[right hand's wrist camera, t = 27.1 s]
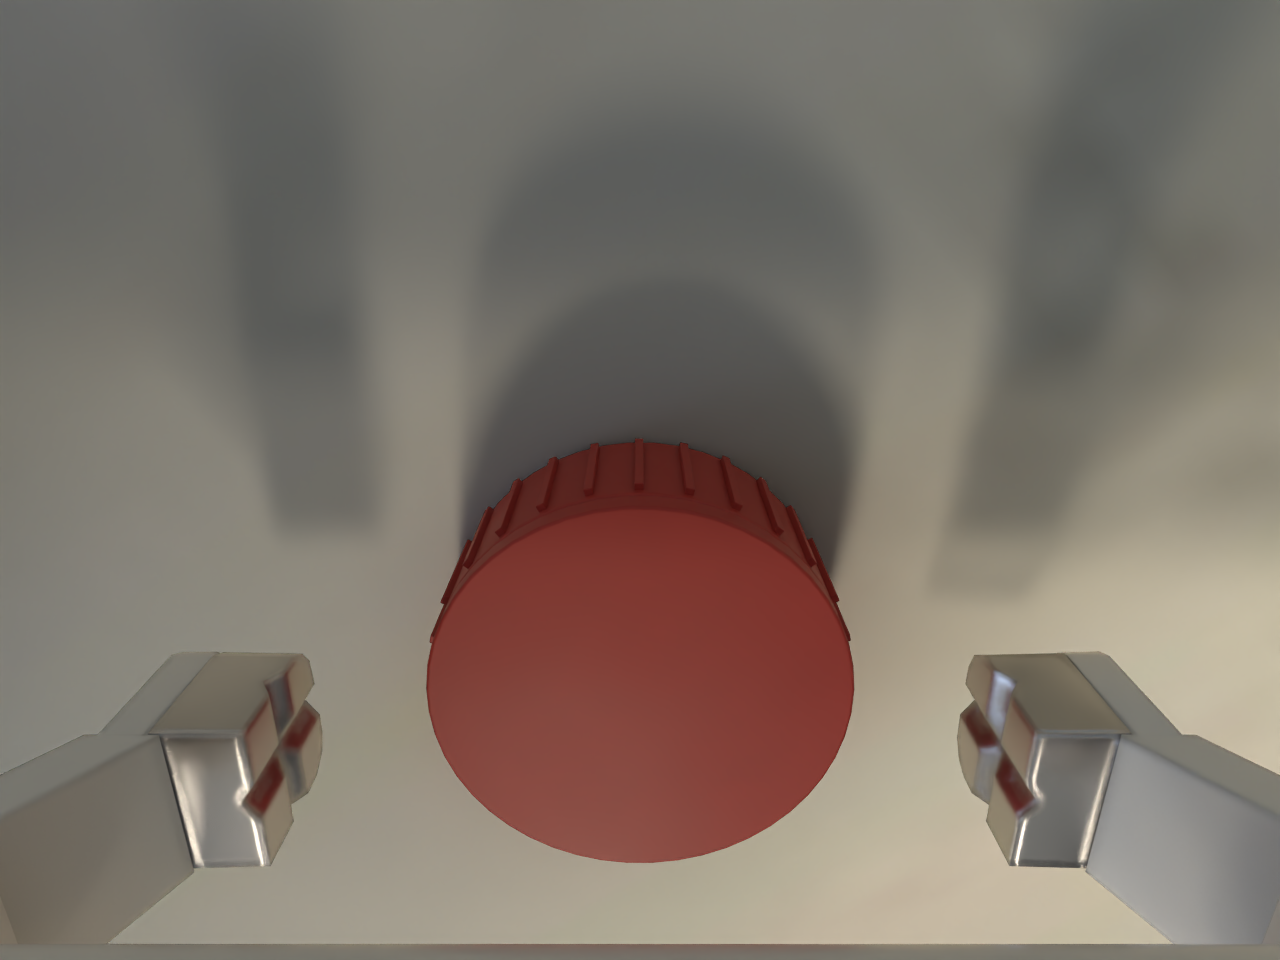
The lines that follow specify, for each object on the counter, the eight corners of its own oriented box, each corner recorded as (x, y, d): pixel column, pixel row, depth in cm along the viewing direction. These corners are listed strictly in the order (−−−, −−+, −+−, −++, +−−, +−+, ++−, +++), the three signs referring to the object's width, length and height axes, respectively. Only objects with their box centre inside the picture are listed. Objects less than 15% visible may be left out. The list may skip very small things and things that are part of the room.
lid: (885, 505, 12) (937, 582, 10) (742, 792, 14) (761, 908, 12) (514, 382, 11) (485, 438, 9) (419, 702, 13) (377, 808, 11)
